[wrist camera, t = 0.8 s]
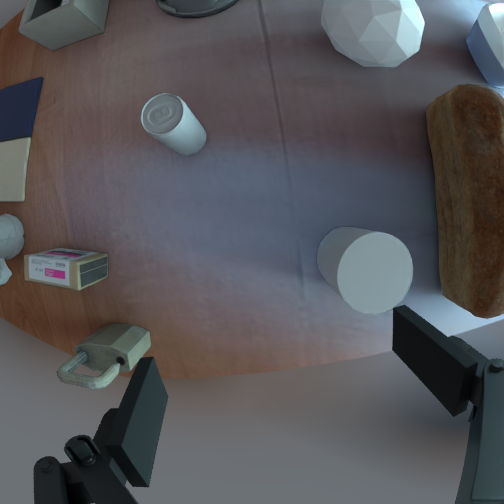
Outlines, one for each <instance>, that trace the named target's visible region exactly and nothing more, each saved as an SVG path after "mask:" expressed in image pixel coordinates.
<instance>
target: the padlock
mask: <svg viewBox="0 0 504 504" xmlns="http://www.w3.org/2000/svg"><path fill="white" fill-rule="evenodd" d="M150 346H151V341H150V332H149V331H148V330H145V329H143V328H140V327H138V326H136V325H130V324H118V323H113V324H110V325H107V326H103V327H101V328H100V329H98V330H97V331H96V332H94V333H93V334H91V335H90V336H89V337H87V338H86V339H85V340H83V341H82V342H81V343H79V344H78V345H77V346H75V350H76V355H75V356H73V357H72V358H71V359H70V360H68V361H67V362H66V363H65V364H63V365H62V366H61V367H60V368H59V369H58V371H57V376H58V378H59V379H60V381H62V382H64V383H68V384H72V385H76V386H81V387H86V388H90V389H99V388H104V387H106V386H107V385H108V384H110V383H111V381H112V380H113V379H114V378H115V377H116V376H117V375H118V373H121V372H126V371H131V369H132V368H133V367H134V366H135V364H136V363H137V362H138V361H139V360H140V358H141V357H142V356H143V355H144V354H145V352H146V351H147V350H148V349H149V348H150ZM81 364H82V365H84V366H86V367H88V368H90V369H92V370H94V371H100V372H103V373H102V374H101V375H100V376H97V377H91V376H86V375H81V374H76V373H72V372H73V371H74V370H75V369H77V368H78V367H79V366H80V365H81Z"/></svg>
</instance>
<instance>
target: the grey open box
mask: <svg viewBox="0 0 504 504" xmlns="http://www.w3.org/2000/svg"><path fill="white" fill-rule="evenodd" d="M108 5H109V0H27V3H26V6H25V9H24V12H23V16H22V19H21V22H20V26H19V30H18V32H19V33H21V34H23V35H25V36H27V37H28V38H30V39H32V40H34V41H36V42H37V43H39V44H41V45H43V46H44V47H46V48H48V49H49V50H51V51H54V50H57V49H59V48H61V47H64V46H67V45H69V44H72V43H75V42H77V41H80V40H83V39H86V38H89V37H92V36H95V35H98V34H101V33H104V29H105V22H106V16H107V10H108Z"/></svg>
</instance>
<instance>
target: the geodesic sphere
mask: <svg viewBox="0 0 504 504" xmlns="http://www.w3.org/2000/svg"><path fill="white" fill-rule="evenodd" d="M321 24H322V26H323V28H324V30H325V31H326V33H327V35H328V37H329V39H330V41H331V42H332V44H333V46H334V48H335V50H336V51H338V52H340V53H342V54H343V55H345V56H347V57H348V58H350V59H352V60H354V61H355V62H357V63H358V64H360V65H362V66H363V67H396V66H398V65H399V64H401V63H402V62H403V61H405V60H406V59H408V58H409V57H411V56H412V55H413V54H415V53H416V52H418V51H419V48H420V43H421V39H422V34H423V29H424V24H425V22H424V19H423V17H422V14H421V12H420V9H419V7H418V5H417V4H416V2H415V1H414V0H324V3H323V7H322V16H321Z"/></svg>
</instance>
